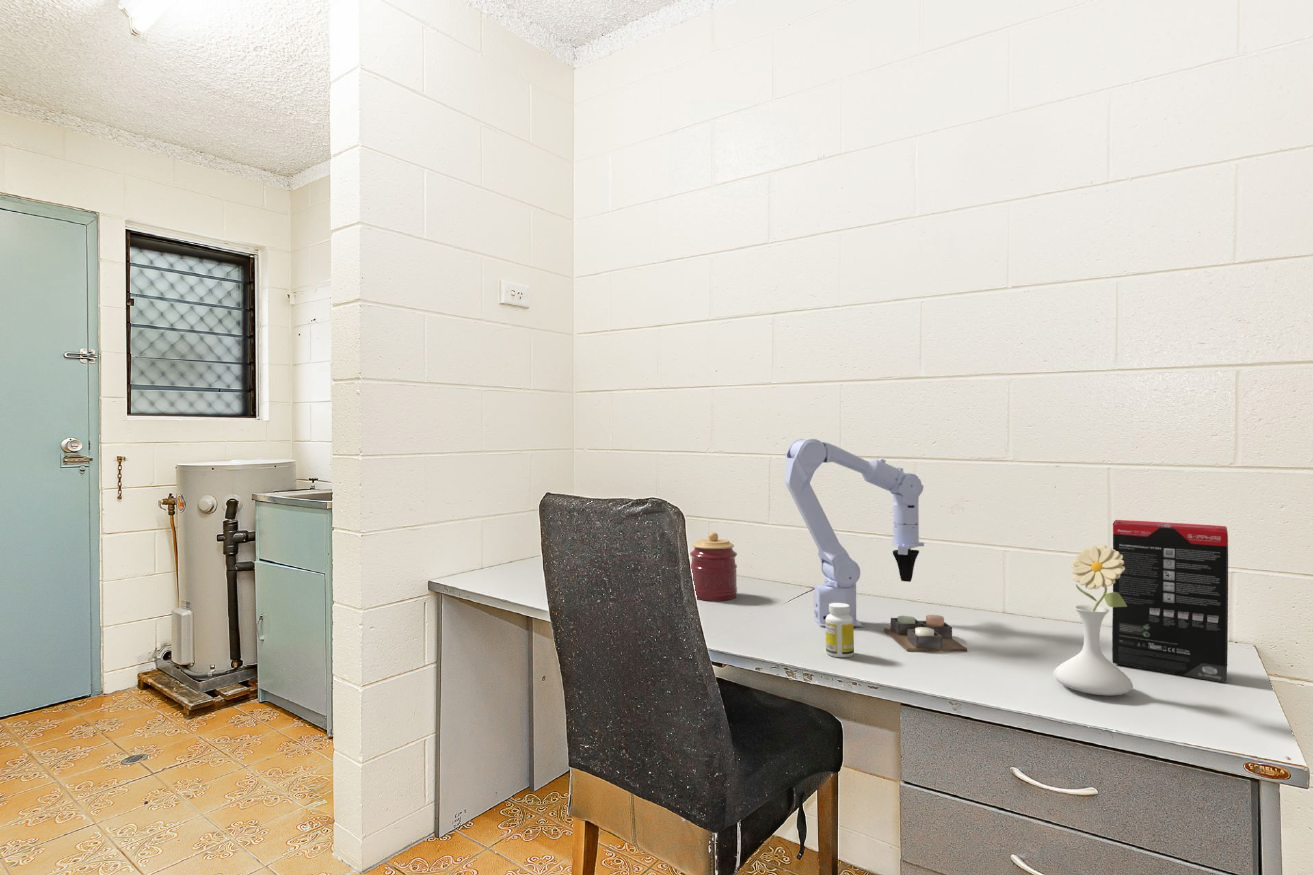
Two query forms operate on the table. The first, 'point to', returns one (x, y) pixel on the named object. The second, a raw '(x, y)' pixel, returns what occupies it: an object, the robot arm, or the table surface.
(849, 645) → the supplement bottle
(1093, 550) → the flower in vase
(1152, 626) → the graphics card box
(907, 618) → the sage button
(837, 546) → the robot arm
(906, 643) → the button panel
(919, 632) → the cream button
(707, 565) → the canister
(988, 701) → the table surface
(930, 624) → the terracotta button
